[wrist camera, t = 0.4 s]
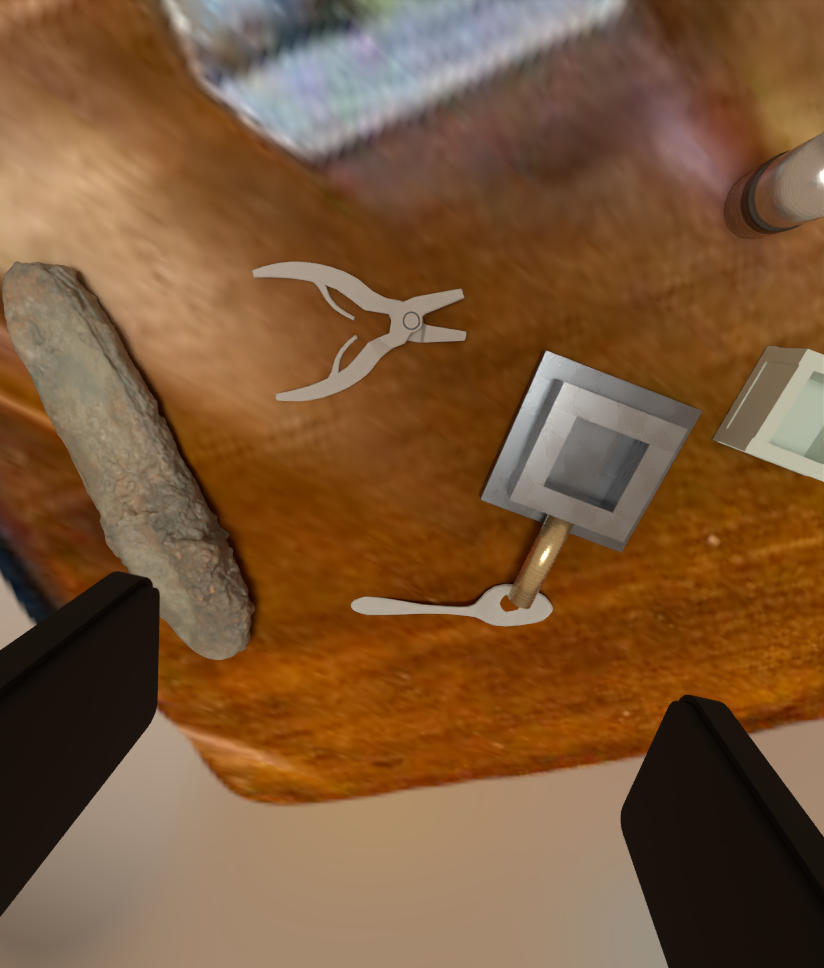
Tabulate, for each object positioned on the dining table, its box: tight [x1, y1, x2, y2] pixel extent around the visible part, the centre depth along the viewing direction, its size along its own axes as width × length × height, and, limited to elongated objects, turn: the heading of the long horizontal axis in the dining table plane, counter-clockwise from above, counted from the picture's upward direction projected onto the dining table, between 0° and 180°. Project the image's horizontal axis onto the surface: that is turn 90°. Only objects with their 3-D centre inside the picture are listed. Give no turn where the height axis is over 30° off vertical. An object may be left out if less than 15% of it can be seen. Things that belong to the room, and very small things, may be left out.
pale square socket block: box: [712, 346, 824, 482], centre depth 32 cm, size 7×7×4 cm
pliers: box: [253, 262, 466, 401], centre depth 34 cm, size 10×2×15 cm
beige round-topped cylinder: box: [724, 132, 824, 239], centre depth 27 cm, size 4×4×7 cm
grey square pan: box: [480, 350, 702, 609], centre depth 36 cm, size 18×12×4 cm, turn 160°
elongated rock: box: [2, 262, 255, 660], centre depth 38 cm, size 35×5×10 cm
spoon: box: [351, 584, 553, 626], centre depth 41 cm, size 4×21×2 cm, turn 94°
